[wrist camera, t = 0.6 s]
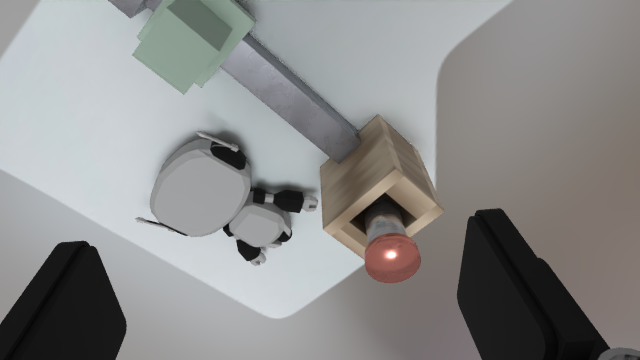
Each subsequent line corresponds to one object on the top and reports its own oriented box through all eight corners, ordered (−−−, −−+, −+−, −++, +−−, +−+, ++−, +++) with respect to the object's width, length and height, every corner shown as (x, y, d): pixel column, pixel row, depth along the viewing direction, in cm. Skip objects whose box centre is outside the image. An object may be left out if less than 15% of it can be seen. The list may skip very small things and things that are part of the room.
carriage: (199, -42, 34) (165, -25, 26) (259, 13, 36) (245, 45, 28) (150, 26, 37) (106, 61, 29) (209, 73, 39) (183, 118, 31)
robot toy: (323, 183, 47) (198, 108, 41) (327, 210, 43) (191, 131, 37) (259, 252, 52) (139, 194, 46) (257, 281, 48) (127, 222, 42)
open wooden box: (377, 114, 42) (395, 168, 33) (418, 151, 44) (444, 211, 36) (320, 167, 45) (322, 229, 36) (360, 200, 47) (372, 265, 39)
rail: (159, -62, 33) (142, -58, 30) (373, 131, 43) (379, 151, 39) (125, -11, 35) (106, -1, 32) (337, 163, 45) (339, 185, 41)
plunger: (383, 185, 35) (395, 232, 30) (415, 212, 37) (432, 261, 32) (347, 214, 37) (354, 264, 32) (379, 239, 38) (390, 290, 33)
